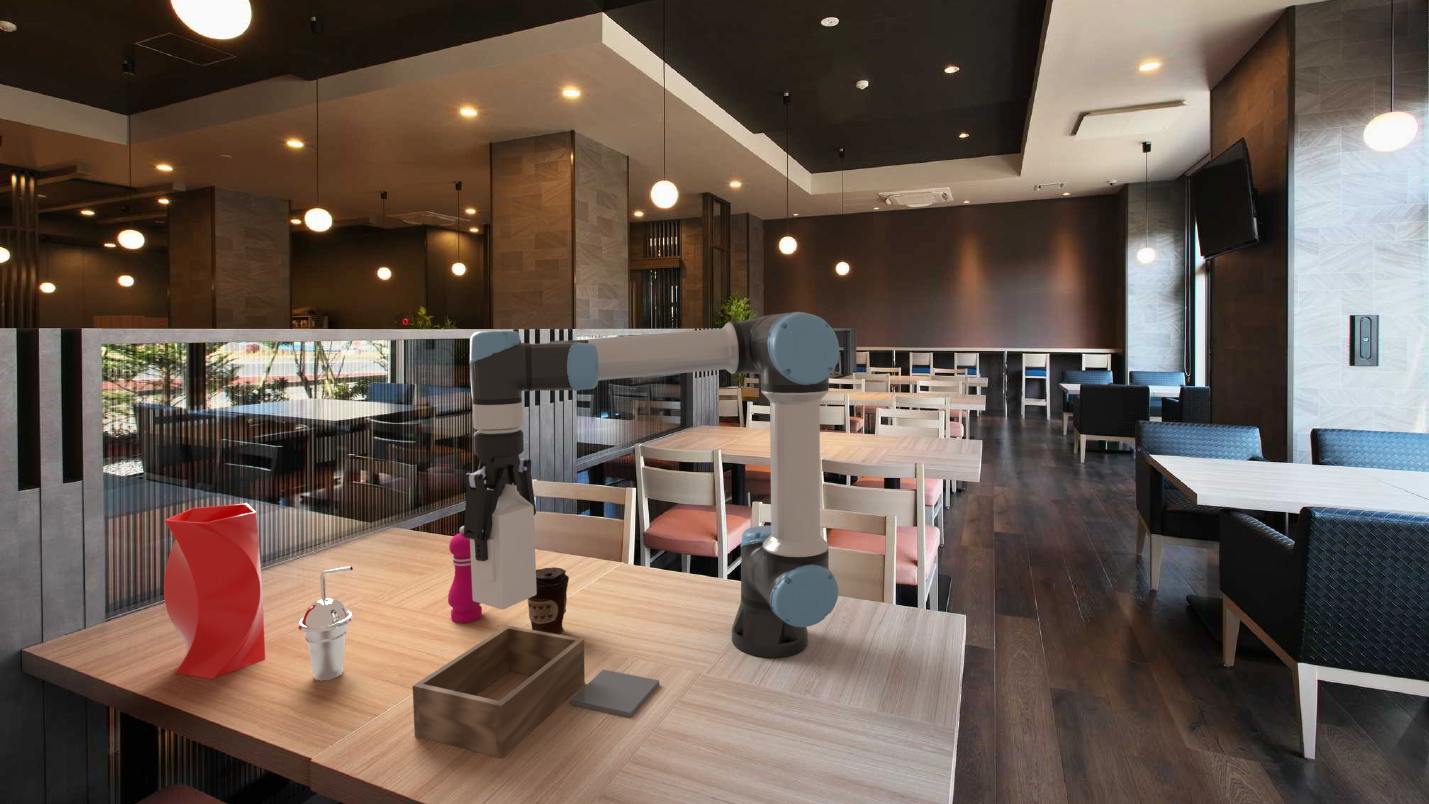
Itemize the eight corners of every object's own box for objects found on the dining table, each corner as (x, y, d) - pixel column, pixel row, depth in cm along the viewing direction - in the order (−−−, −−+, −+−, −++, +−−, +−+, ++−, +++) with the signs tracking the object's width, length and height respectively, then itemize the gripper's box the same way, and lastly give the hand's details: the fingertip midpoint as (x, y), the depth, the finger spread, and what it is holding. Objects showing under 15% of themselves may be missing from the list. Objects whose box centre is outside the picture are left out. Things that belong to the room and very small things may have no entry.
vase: (159, 668, 126) (147, 517, 123) (239, 635, 139) (229, 499, 136) (215, 684, 121) (203, 527, 118) (292, 649, 134) (283, 507, 131)
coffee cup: (558, 645, 136) (557, 581, 135) (518, 641, 138) (517, 578, 136) (575, 626, 145) (574, 566, 143) (538, 623, 146) (537, 563, 145)
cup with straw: (336, 659, 130) (330, 555, 128) (367, 670, 126) (362, 563, 124) (290, 679, 122) (283, 569, 120) (322, 692, 118) (316, 578, 116)
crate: (584, 682, 122) (583, 639, 121) (502, 758, 100) (501, 705, 100) (508, 667, 127) (506, 625, 126) (414, 735, 106) (412, 685, 105)
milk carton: (503, 611, 107) (498, 490, 105) (472, 601, 111) (466, 484, 109) (537, 595, 113) (533, 481, 111) (506, 587, 117) (502, 476, 115)
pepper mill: (441, 620, 147) (437, 528, 145) (465, 608, 154) (462, 520, 152) (468, 626, 145) (465, 532, 142) (491, 613, 151) (488, 523, 149)
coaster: (659, 684, 121) (659, 680, 121) (630, 717, 111) (630, 712, 111) (603, 673, 125) (603, 669, 125) (570, 704, 115) (570, 699, 115)
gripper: (518, 420, 120) (522, 548, 122) (431, 438, 101) (439, 590, 103) (555, 422, 117) (559, 552, 120) (474, 441, 98) (481, 596, 100)
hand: (503, 570), depth 111 cm, fingers closed on milk carton, 8 cm apart
